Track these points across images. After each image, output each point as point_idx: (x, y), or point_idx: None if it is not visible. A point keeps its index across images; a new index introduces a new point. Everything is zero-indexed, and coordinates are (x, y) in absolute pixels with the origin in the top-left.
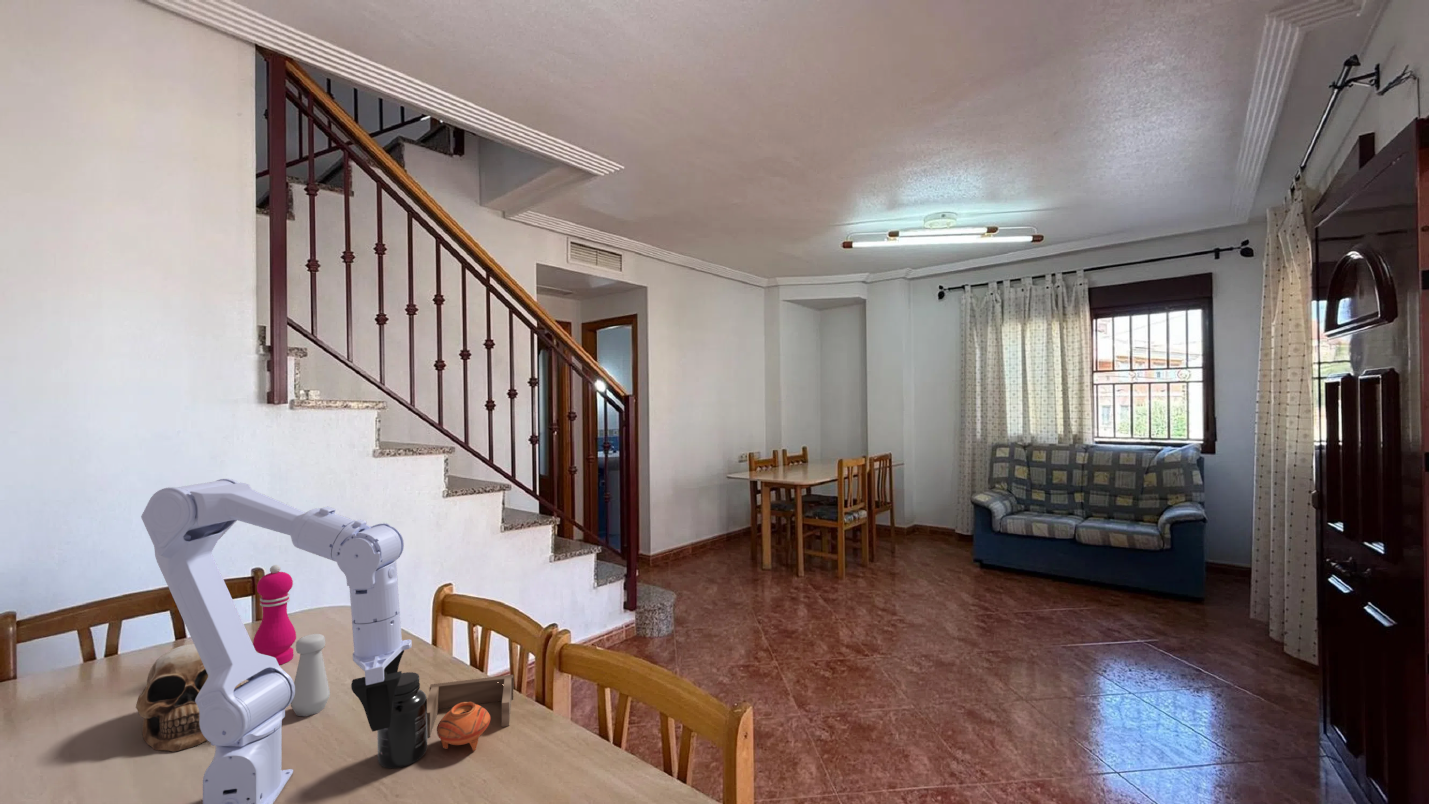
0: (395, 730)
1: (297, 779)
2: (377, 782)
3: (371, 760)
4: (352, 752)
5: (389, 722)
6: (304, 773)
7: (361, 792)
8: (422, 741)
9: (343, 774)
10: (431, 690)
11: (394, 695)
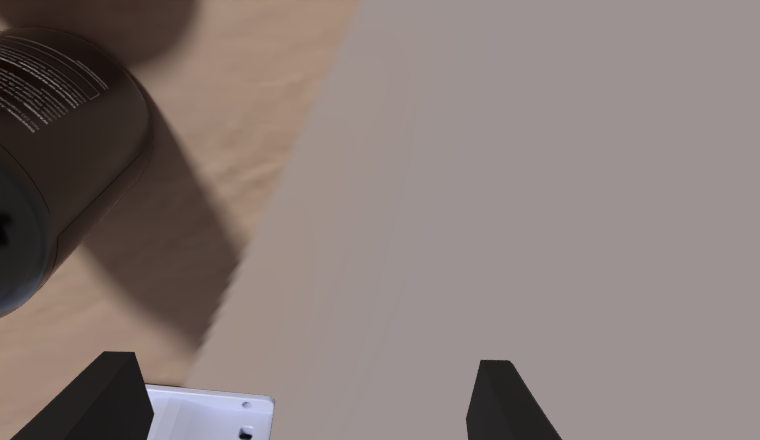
0: (92, 206)
1: None
2: (219, 188)
3: None
4: None
5: (525, 385)
6: None
7: (257, 225)
8: (68, 60)
9: (141, 275)
10: None
11: (111, 379)
